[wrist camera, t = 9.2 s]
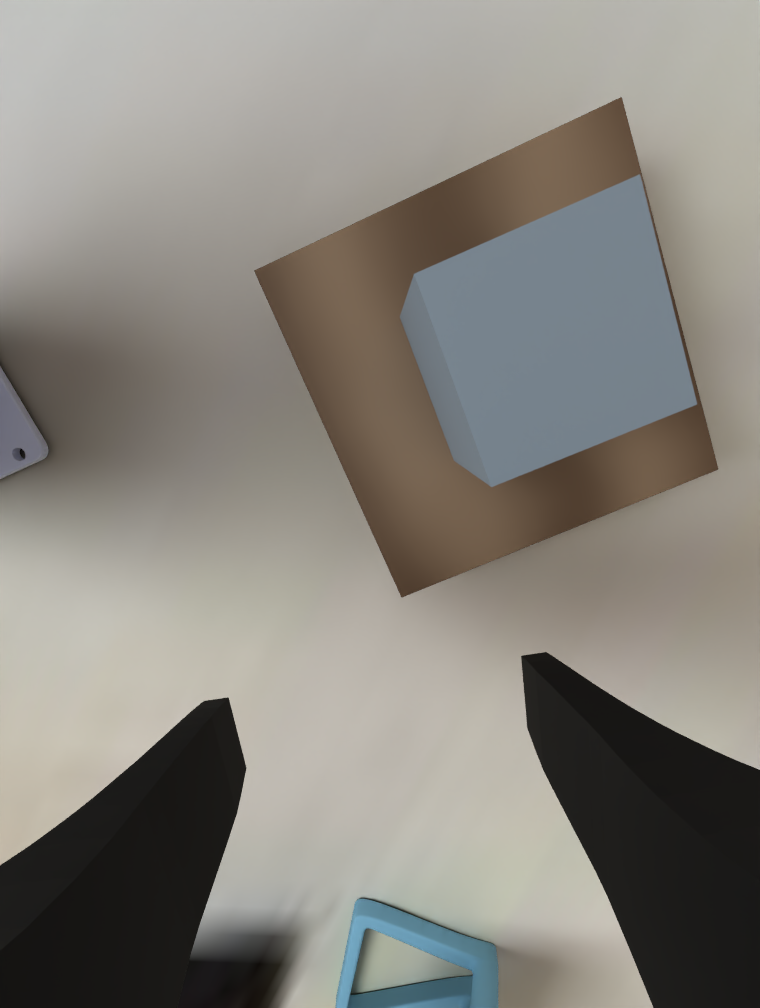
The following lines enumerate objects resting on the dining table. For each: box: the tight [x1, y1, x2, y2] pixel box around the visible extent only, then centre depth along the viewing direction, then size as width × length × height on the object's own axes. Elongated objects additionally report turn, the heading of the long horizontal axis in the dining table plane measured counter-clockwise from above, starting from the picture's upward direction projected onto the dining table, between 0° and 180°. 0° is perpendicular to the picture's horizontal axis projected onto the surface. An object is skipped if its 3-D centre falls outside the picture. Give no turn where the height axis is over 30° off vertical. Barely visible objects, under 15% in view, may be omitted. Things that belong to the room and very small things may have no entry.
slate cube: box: [400, 174, 697, 487], centre depth 12 cm, size 5×5×5 cm
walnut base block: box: [255, 97, 718, 597], centre depth 17 cm, size 12×12×4 cm
